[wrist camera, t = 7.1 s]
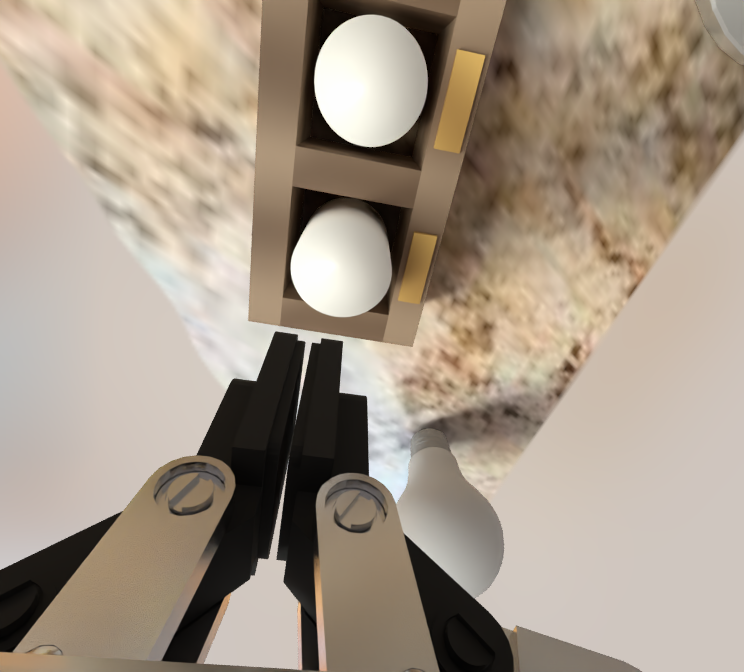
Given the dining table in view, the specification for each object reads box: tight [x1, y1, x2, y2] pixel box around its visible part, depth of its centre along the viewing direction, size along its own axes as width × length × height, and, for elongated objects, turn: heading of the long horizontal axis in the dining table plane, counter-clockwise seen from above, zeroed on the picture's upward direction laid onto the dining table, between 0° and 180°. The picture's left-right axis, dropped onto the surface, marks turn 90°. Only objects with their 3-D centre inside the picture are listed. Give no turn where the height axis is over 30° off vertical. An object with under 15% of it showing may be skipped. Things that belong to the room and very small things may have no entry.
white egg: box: [291, 198, 392, 317], centre depth 18 cm, size 4×4×4 cm
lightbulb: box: [396, 429, 504, 599], centre depth 25 cm, size 6×6×11 cm
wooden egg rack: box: [248, 0, 506, 347], centre depth 17 cm, size 21×8×5 cm, turn 170°
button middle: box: [314, 15, 428, 147], centre depth 17 cm, size 4×4×4 cm
